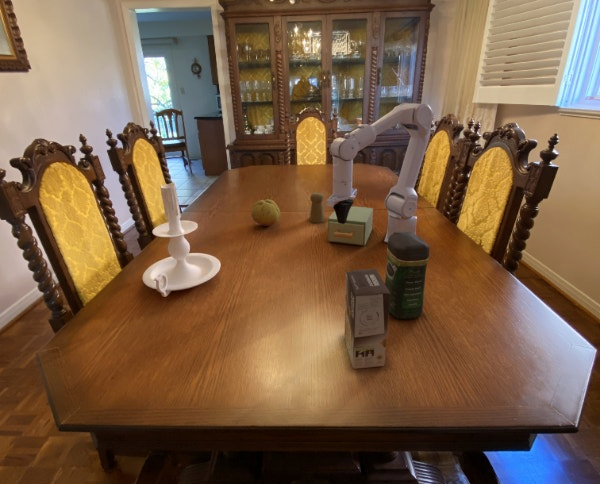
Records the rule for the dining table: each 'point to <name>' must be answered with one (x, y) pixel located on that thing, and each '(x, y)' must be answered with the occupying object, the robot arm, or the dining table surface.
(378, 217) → the dining table surface
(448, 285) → the dining table surface
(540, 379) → the dining table surface
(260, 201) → the fruit
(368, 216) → the cabinet
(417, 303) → the coffee jar
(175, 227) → the candlestick
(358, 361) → the coffee box
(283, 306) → the dining table surface
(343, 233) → the drawer
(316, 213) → the cork
